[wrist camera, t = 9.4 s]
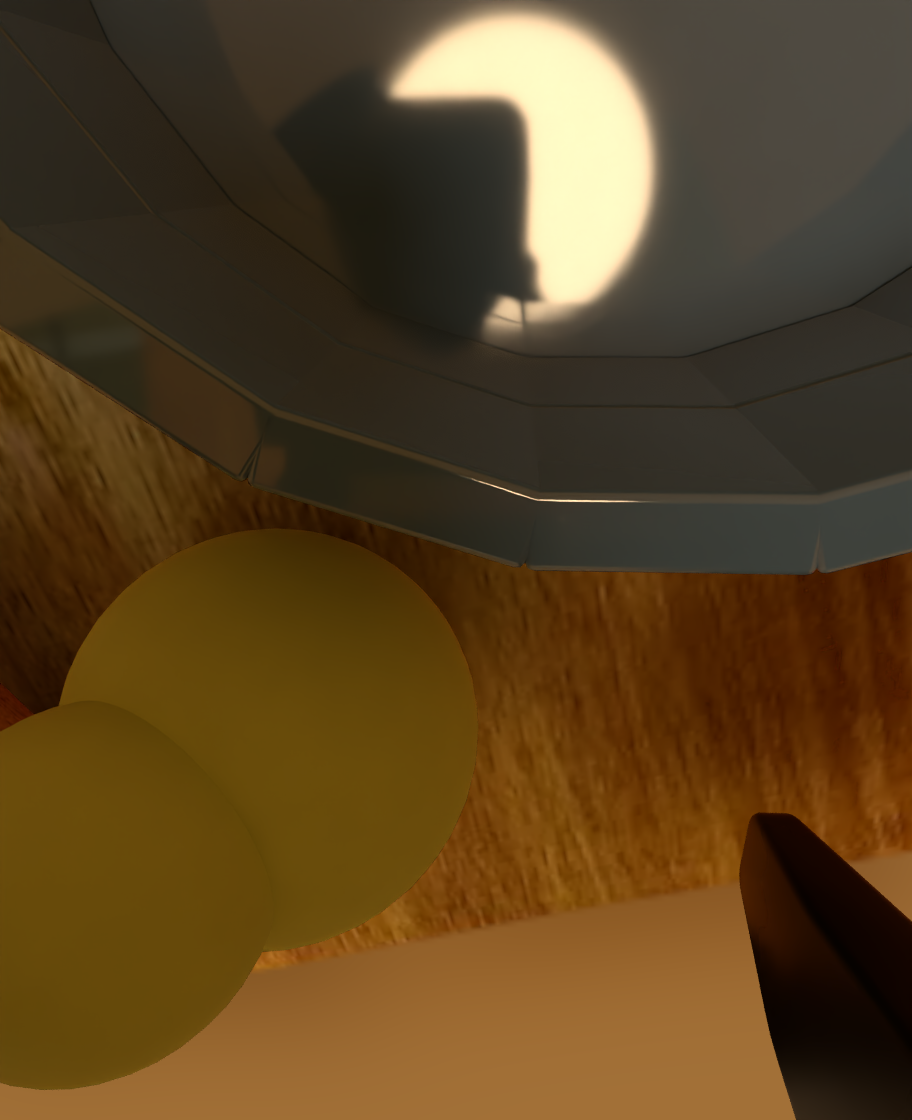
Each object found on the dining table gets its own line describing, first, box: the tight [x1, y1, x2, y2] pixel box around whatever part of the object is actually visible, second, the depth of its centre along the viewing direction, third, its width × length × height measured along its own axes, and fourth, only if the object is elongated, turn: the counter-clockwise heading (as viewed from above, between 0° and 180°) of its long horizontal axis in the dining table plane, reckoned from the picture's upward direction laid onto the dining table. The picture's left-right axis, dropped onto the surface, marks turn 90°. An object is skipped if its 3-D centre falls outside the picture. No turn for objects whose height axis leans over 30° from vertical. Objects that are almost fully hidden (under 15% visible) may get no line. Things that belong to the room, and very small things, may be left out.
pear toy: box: [0, 528, 478, 1090], centre depth 9 cm, size 5×5×9 cm
